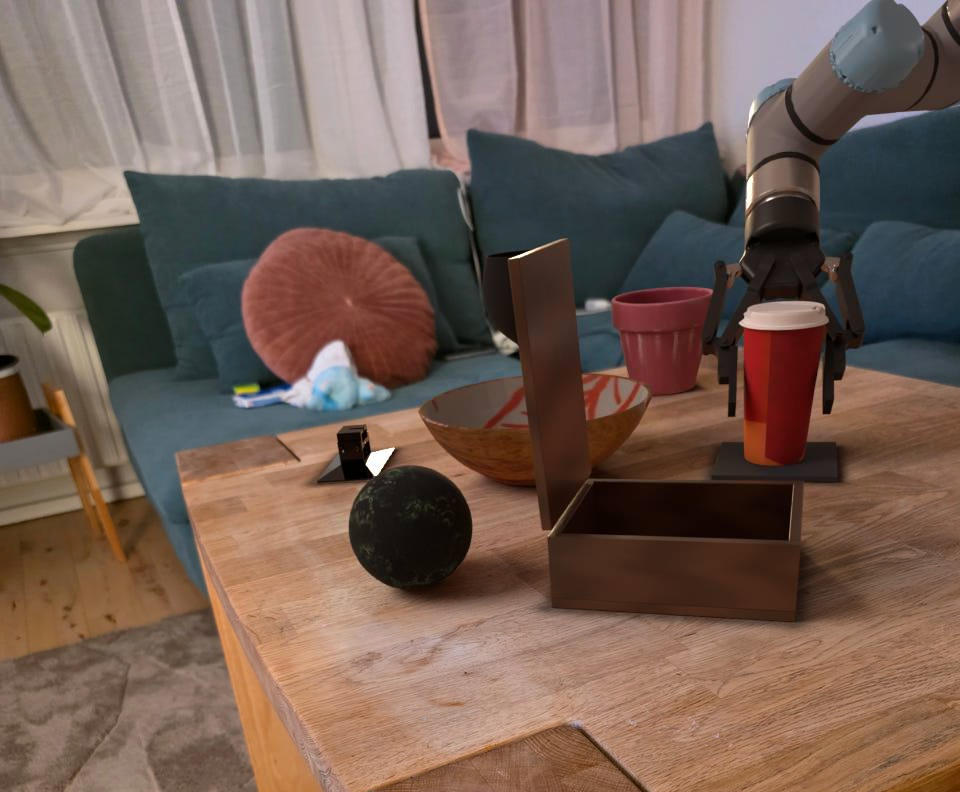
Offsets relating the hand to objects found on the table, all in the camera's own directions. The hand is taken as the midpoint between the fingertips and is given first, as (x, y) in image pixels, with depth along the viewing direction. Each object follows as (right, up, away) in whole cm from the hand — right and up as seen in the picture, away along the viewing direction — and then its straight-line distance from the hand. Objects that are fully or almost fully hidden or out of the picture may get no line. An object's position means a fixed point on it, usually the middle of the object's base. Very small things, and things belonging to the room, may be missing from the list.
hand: (779, 408), depth 88 cm
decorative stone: (-35, -18, -13) cm, 42 cm away
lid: (-24, -3, -21) cm, 32 cm away
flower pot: (-3, +13, +41) cm, 43 cm away
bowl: (-23, -4, +11) cm, 26 cm away
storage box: (-14, -18, -17) cm, 28 cm away
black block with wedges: (-44, -2, +20) cm, 49 cm away
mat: (+1, -4, +6) cm, 7 cm away
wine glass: (-23, +11, +40) cm, 48 cm away
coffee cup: (+1, -4, +6) cm, 7 cm away
